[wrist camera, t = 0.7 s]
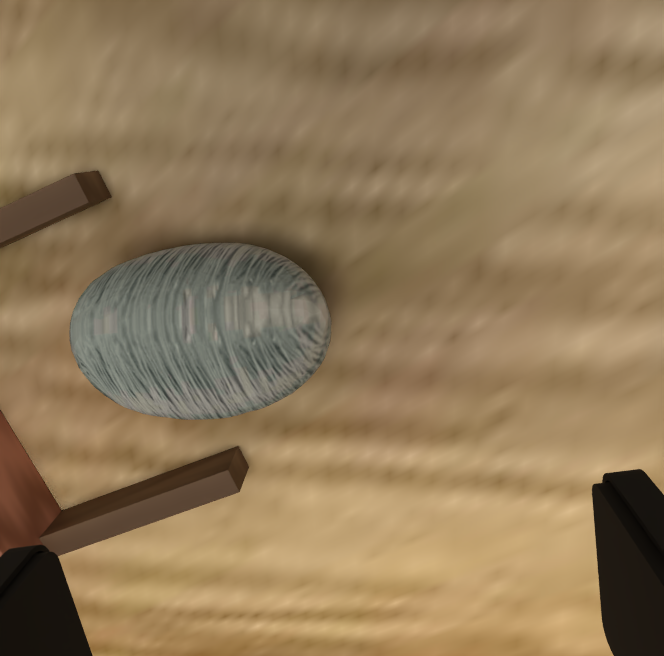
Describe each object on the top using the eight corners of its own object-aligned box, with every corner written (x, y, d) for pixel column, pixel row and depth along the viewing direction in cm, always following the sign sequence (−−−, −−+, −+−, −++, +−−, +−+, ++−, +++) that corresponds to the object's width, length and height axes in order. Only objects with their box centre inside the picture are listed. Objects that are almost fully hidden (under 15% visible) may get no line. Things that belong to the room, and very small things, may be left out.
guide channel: (-113, 269, 38) (-200, 292, 32) (98, 170, 35) (45, 176, 30) (53, 537, 43) (4, 598, 37) (248, 467, 40) (228, 521, 35)
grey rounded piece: (92, 430, 36) (45, 423, 27) (92, 274, 38) (48, 214, 29) (322, 416, 39) (354, 405, 29) (312, 269, 41) (340, 213, 31)
